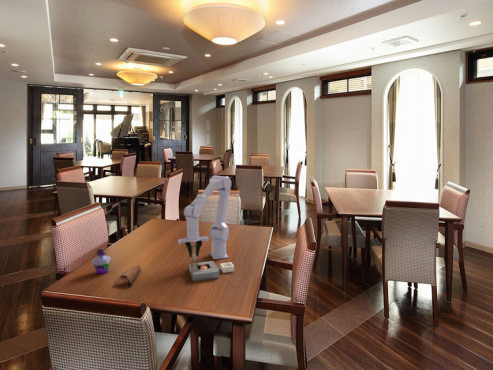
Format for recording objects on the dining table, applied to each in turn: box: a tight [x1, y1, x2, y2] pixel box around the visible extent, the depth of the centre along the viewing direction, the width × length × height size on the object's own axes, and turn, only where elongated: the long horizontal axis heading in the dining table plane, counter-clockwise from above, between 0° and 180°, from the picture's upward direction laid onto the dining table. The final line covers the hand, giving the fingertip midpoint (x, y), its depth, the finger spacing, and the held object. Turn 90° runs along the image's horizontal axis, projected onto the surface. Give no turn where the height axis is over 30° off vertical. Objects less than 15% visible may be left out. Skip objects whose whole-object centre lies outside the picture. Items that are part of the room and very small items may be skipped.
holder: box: [219, 261, 235, 274], centre depth 165 cm, size 6×6×3 cm
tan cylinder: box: [190, 244, 198, 263], centre depth 167 cm, size 3×3×8 cm
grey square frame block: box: [188, 260, 220, 282], centre depth 160 cm, size 12×12×4 cm
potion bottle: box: [91, 247, 112, 275], centre depth 163 cm, size 9×9×12 cm
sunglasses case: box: [112, 265, 142, 289], centre depth 155 cm, size 18×7×7 cm
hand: (193, 256), depth 168 cm, fingers closed on tan cylinder, 3 cm apart
